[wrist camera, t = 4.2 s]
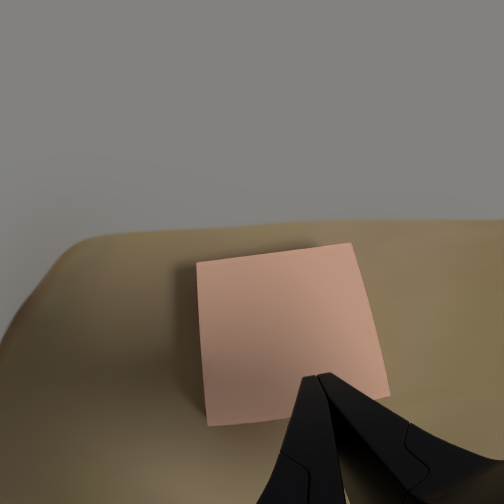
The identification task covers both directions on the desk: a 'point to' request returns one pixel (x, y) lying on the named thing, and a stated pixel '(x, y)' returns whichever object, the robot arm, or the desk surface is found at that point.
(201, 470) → the desk surface
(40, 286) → the desk surface
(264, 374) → the tile
